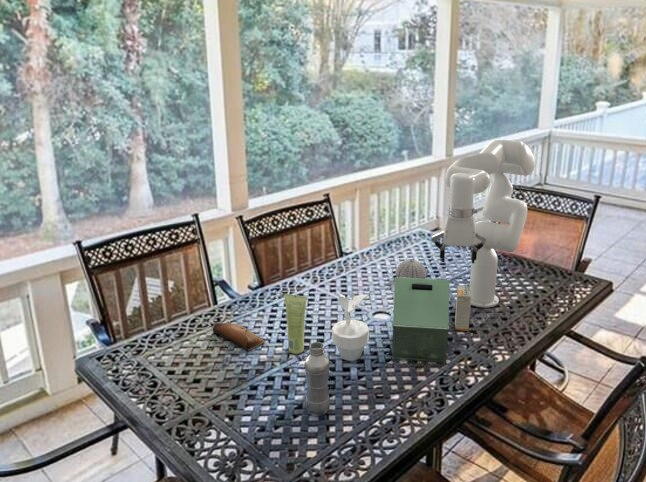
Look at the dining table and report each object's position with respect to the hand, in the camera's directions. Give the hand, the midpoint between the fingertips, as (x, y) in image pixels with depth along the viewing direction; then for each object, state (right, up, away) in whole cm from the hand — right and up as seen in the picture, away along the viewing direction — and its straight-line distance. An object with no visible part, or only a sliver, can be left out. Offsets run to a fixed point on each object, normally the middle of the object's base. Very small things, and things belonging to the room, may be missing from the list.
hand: (457, 261), depth 176 cm
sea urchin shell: (-9, -12, +48) cm, 51 cm away
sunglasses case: (-73, -26, +3) cm, 78 cm away
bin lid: (-14, -11, -13) cm, 22 cm away
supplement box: (+4, -24, +11) cm, 26 cm away
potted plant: (-35, -29, -7) cm, 46 cm away
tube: (-53, -28, -4) cm, 60 cm away
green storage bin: (-13, -28, -4) cm, 31 cm away
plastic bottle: (-45, -37, -33) cm, 67 cm away
